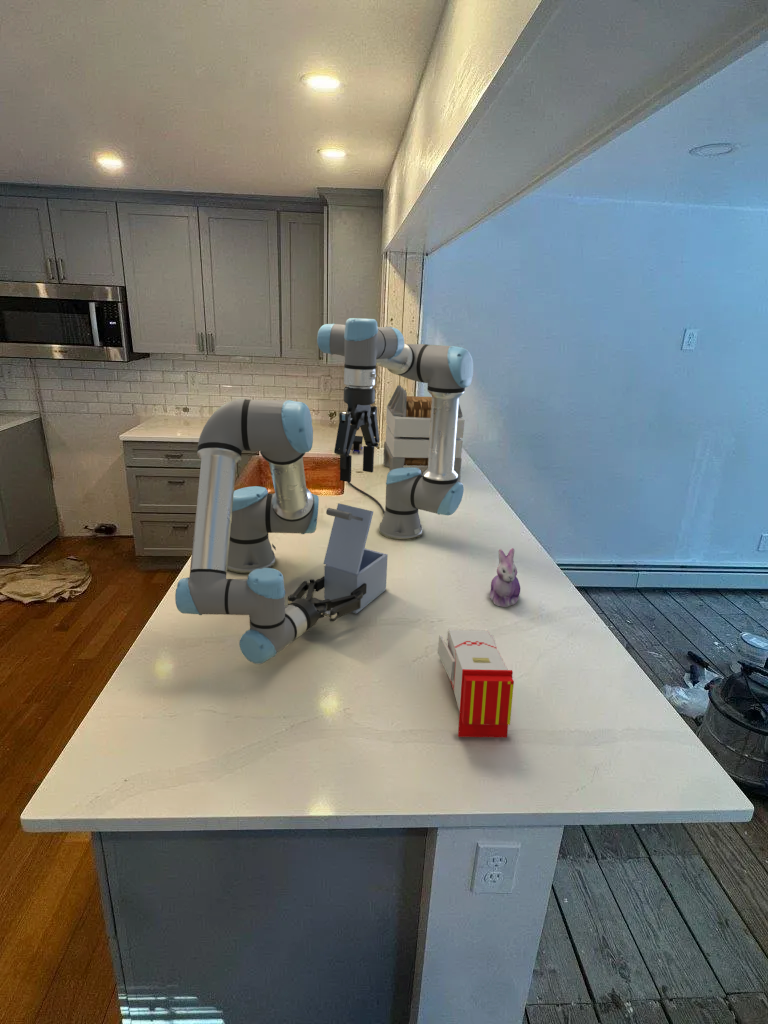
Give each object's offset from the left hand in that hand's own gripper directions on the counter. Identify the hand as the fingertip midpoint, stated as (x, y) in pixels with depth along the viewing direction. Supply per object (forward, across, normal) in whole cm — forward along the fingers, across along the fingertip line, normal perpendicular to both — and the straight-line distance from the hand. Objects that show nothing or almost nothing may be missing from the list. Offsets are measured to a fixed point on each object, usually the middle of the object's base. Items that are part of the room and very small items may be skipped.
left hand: (347, 582), depth 150 cm
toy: (-18, +42, -6) cm, 46 cm away
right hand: (+3, 0, +29) cm, 29 cm away
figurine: (+25, +35, -6) cm, 44 cm away
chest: (+4, 0, -6) cm, 7 cm away
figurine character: (+145, -87, -6) cm, 169 cm away
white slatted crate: (+127, -40, -6) cm, 133 cm away
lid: (0, 0, +13) cm, 13 cm away
